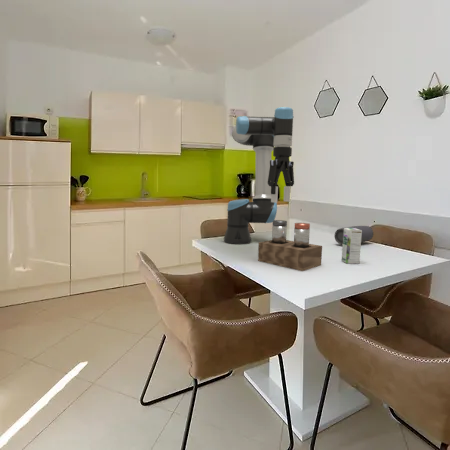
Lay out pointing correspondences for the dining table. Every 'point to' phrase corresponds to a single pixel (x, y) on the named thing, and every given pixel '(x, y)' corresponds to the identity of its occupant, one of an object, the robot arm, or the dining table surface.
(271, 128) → the robot arm
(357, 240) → the syrup box
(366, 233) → the bluetooth speaker
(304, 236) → the red lid glass jar
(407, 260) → the dining table surface
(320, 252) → the wooden jar holder
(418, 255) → the dining table surface
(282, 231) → the grey lid glass jar
